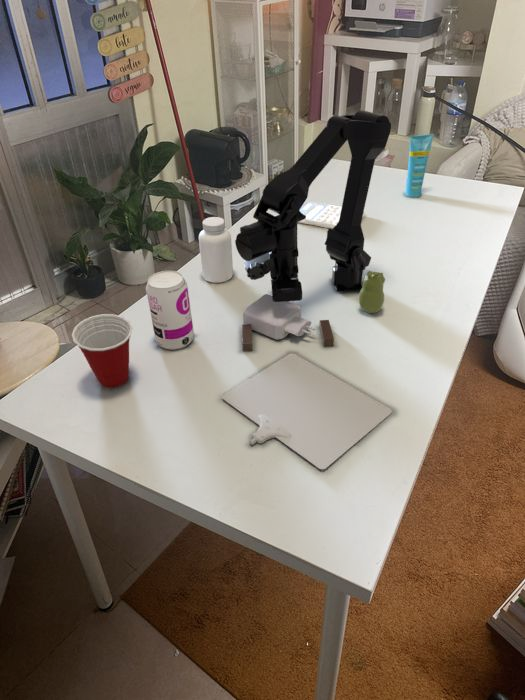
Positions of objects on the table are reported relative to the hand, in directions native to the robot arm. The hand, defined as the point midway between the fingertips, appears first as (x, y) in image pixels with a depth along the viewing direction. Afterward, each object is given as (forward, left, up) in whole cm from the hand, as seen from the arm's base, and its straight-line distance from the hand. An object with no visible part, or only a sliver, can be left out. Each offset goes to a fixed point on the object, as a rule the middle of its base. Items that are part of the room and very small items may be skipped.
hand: (285, 303), depth 121 cm
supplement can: (+25, +9, -2) cm, 26 cm away
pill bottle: (+16, -18, -2) cm, 24 cm away
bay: (+1, +11, -2) cm, 11 cm away
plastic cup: (+36, +21, -2) cm, 41 cm away
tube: (-48, -65, -2) cm, 81 cm away
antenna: (+1, +33, -2) cm, 33 cm away
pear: (-19, +2, -2) cm, 20 cm away
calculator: (-17, -50, -2) cm, 53 cm away
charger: (+1, +7, -2) cm, 8 cm away
